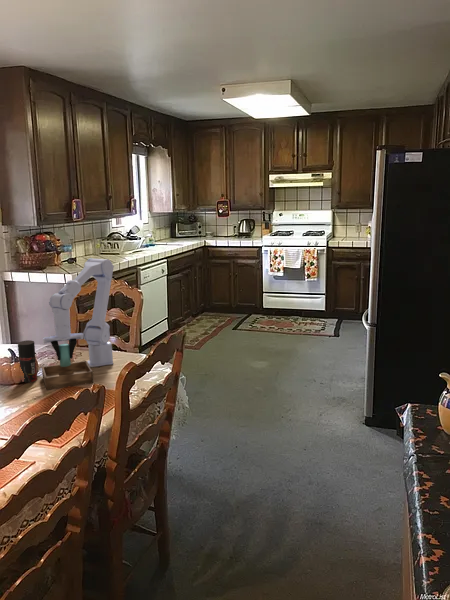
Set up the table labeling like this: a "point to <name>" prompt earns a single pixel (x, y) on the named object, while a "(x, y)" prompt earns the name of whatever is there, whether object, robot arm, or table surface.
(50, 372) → the box
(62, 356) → the peg
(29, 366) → the deodorant
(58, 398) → the table surface
